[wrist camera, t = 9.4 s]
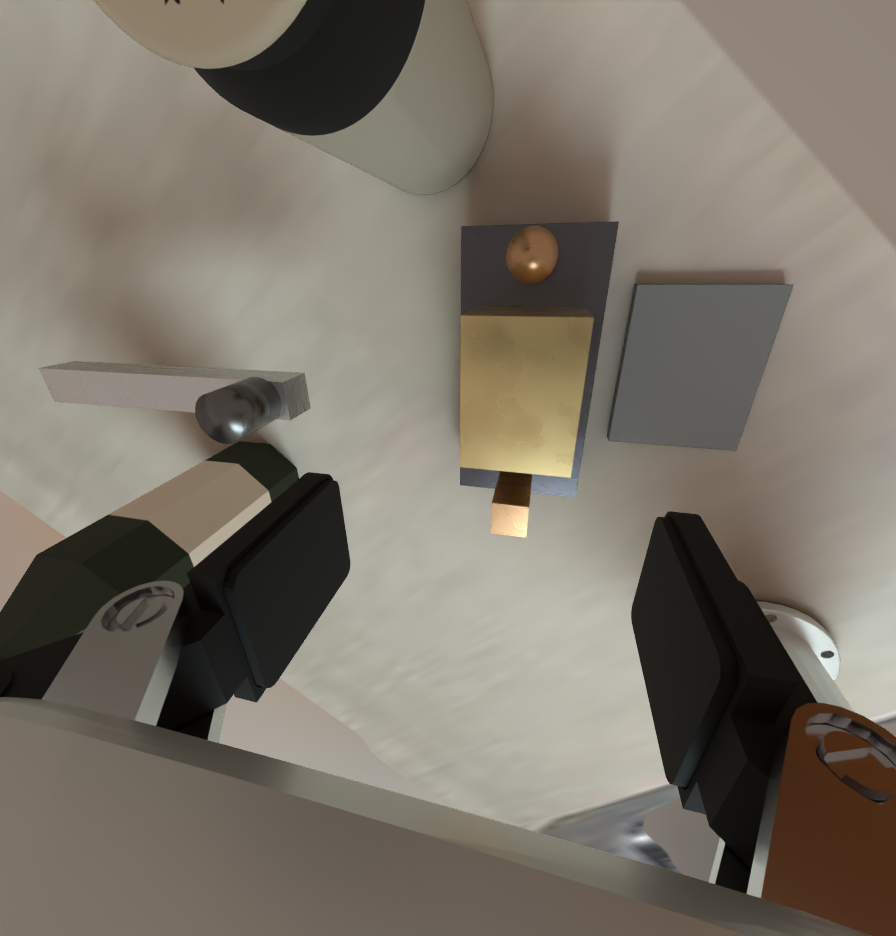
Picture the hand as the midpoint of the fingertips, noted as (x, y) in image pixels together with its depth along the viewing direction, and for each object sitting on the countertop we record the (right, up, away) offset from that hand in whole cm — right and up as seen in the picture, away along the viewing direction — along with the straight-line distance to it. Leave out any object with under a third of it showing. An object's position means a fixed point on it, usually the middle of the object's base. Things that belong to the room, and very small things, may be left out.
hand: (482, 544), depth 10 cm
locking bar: (-16, +7, +14) cm, 23 cm away
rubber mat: (+15, +8, +16) cm, 23 cm away
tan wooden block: (+4, +7, +15) cm, 17 cm away
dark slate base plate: (+5, +9, +18) cm, 21 cm away
